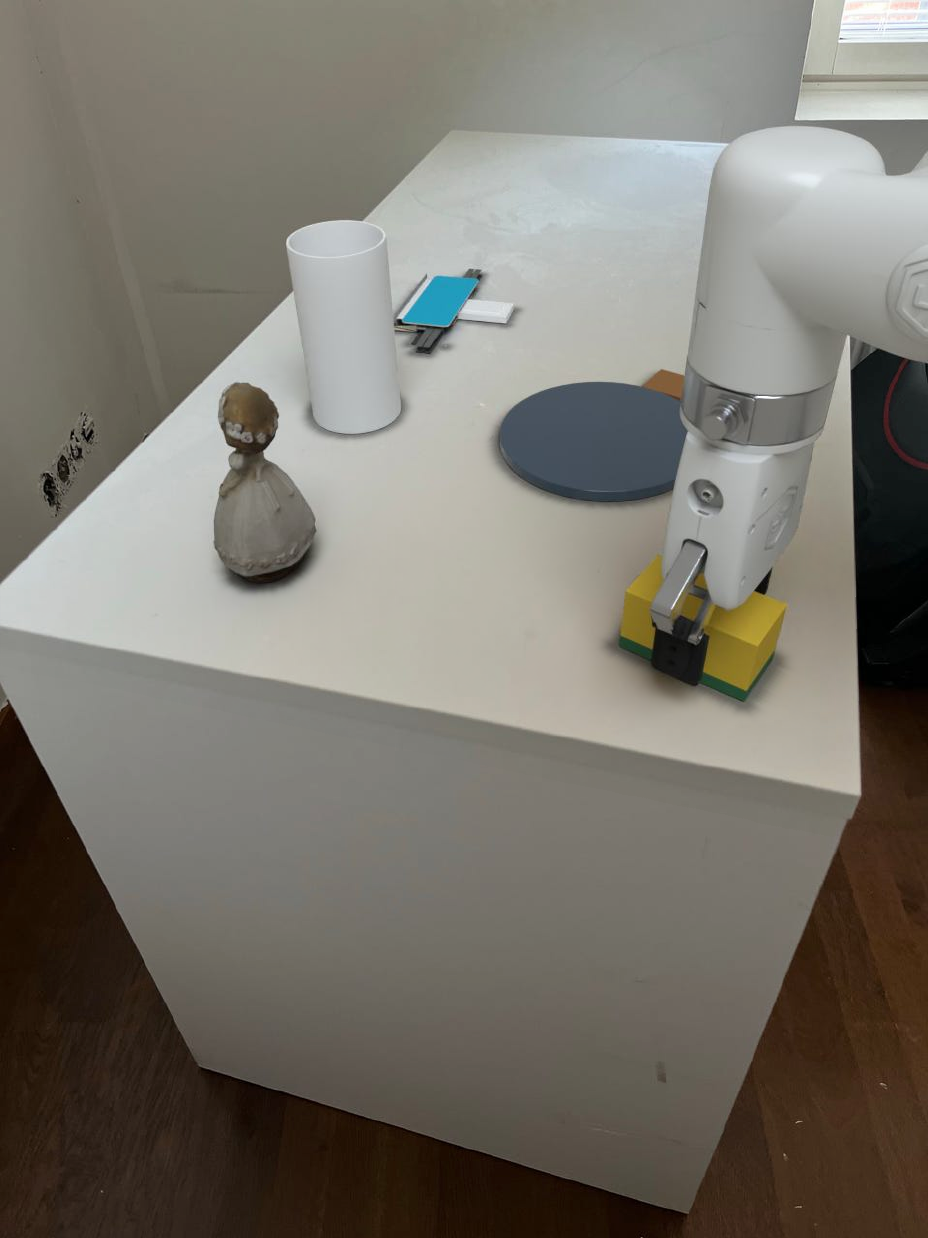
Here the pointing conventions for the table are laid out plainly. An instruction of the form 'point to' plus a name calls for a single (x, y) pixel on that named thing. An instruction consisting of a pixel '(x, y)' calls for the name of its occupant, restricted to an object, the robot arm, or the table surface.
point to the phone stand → (445, 308)
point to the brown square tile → (667, 383)
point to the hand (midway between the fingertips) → (710, 630)
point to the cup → (346, 324)
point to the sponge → (710, 632)
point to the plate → (596, 441)
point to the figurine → (257, 494)
